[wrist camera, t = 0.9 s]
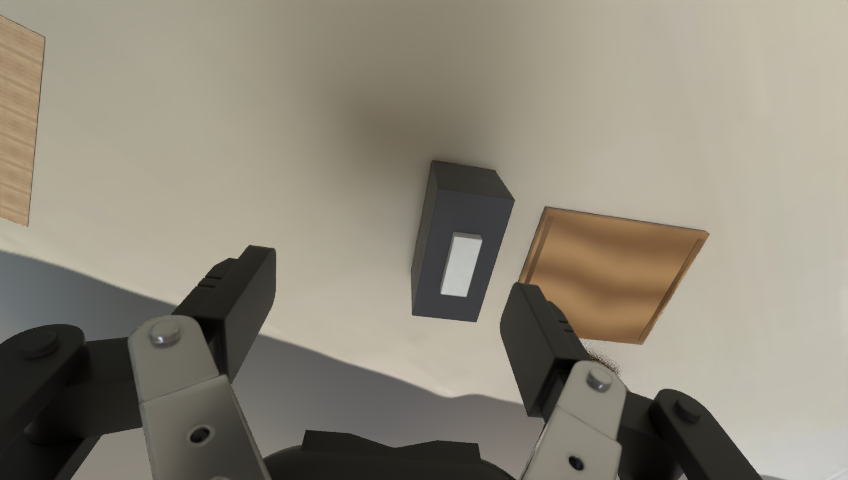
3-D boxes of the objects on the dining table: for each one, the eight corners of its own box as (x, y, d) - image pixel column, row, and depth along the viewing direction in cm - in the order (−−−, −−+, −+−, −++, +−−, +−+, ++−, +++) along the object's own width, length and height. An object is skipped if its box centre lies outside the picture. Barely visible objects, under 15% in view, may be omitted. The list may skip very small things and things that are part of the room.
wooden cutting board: (545, 206, 33) (547, 209, 32) (705, 230, 35) (710, 234, 34) (502, 326, 39) (503, 330, 39) (639, 341, 41) (642, 345, 41)
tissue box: (432, 160, 30) (438, 192, 24) (495, 170, 31) (518, 204, 25) (410, 270, 36) (411, 322, 29) (465, 277, 36) (478, 329, 30)
